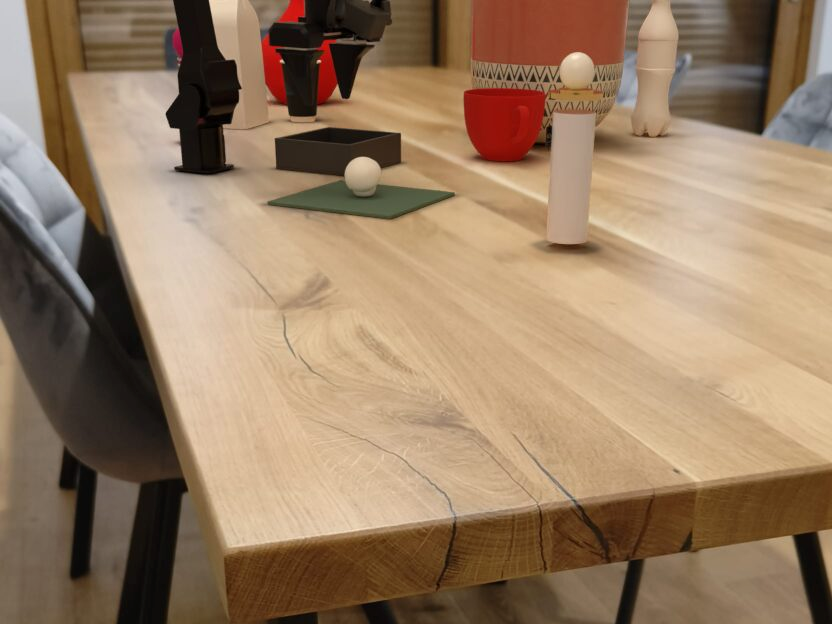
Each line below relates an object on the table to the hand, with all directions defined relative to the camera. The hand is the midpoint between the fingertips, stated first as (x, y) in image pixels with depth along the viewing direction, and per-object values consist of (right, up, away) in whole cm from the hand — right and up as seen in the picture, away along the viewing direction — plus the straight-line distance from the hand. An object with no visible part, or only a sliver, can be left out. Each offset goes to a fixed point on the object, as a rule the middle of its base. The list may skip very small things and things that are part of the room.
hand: (327, 101), depth 151 cm
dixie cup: (-12, +21, +67) cm, 71 cm away
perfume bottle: (+29, -26, -27) cm, 48 cm away
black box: (0, -2, +20) cm, 20 cm away
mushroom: (+5, -14, -5) cm, 16 cm away
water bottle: (+54, +14, +55) cm, 78 cm away
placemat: (+5, -15, -5) cm, 16 cm away
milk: (-25, +18, +61) cm, 69 cm away
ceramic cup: (+26, 0, +26) cm, 37 cm away
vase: (-15, +35, +95) cm, 102 cm away
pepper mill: (-26, +7, +39) cm, 48 cm away
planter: (+33, +10, +46) cm, 58 cm away
